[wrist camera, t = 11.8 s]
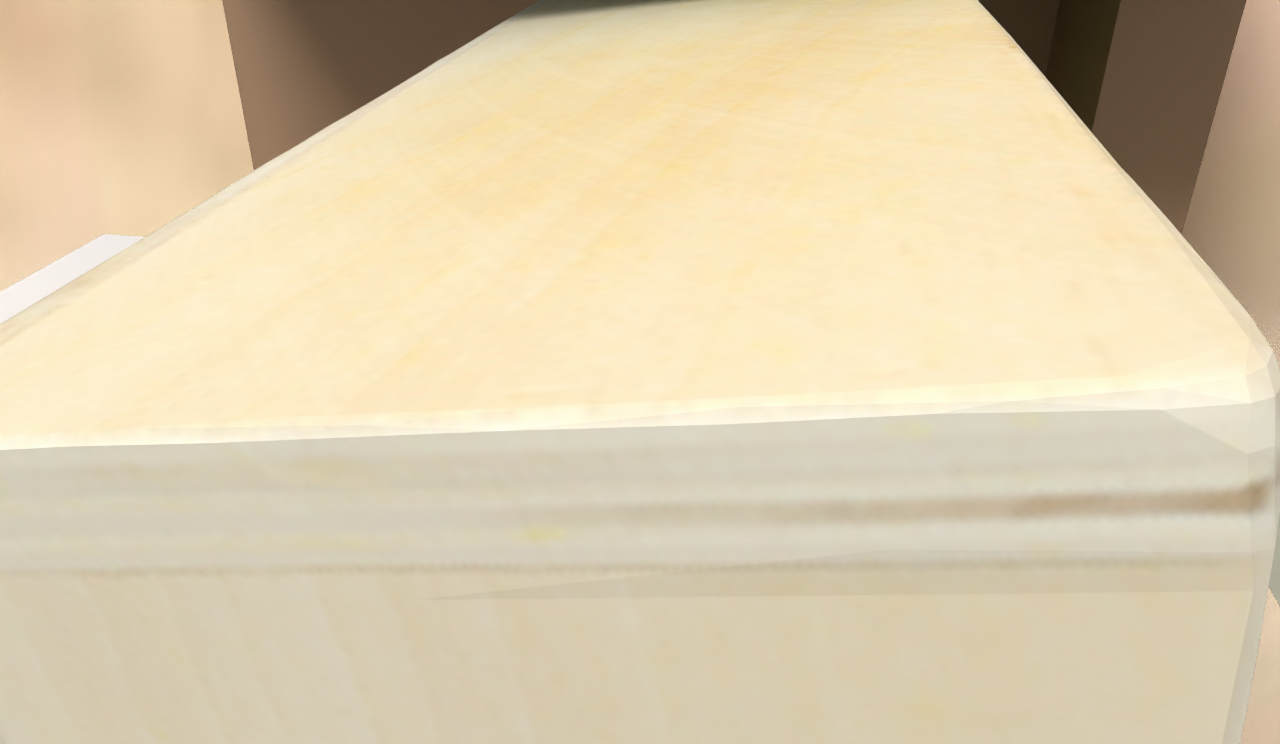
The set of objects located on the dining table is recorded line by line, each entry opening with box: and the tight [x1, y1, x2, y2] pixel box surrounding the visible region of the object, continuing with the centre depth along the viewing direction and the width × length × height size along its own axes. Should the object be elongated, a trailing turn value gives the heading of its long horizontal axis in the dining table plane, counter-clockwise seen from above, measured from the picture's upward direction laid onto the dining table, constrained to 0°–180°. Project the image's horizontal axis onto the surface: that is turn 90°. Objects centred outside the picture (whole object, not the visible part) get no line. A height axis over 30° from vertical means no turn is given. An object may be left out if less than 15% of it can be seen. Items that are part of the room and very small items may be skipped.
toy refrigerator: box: [0, 0, 1280, 744], centre depth 15 cm, size 8×7×21 cm
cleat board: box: [222, 0, 1246, 234], centre depth 20 cm, size 22×12×12 cm, turn 90°
